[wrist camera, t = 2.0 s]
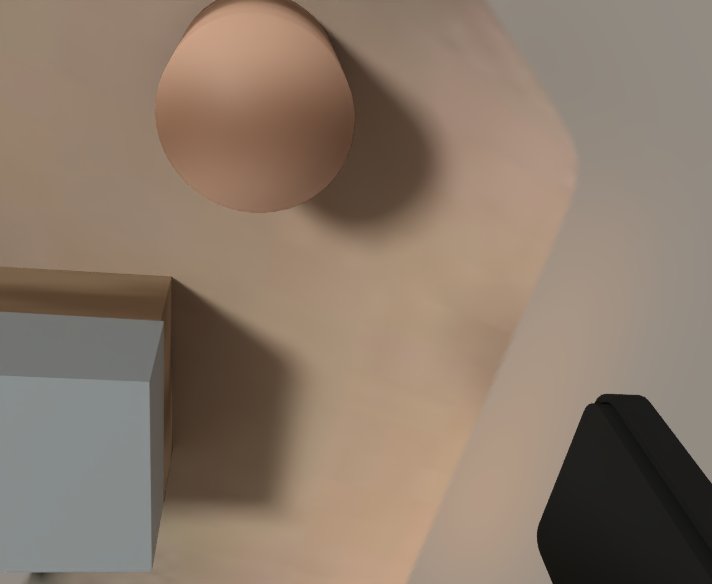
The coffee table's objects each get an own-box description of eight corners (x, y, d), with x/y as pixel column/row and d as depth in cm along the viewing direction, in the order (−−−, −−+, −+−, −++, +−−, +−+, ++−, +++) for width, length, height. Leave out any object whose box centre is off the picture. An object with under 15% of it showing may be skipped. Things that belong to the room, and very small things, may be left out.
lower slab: (-84, 257, 29) (-130, 306, 26) (172, 272, 31) (160, 320, 27) (-42, 440, 35) (-75, 500, 31) (173, 444, 36) (164, 500, 33)
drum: (176, -21, 24) (153, 4, 19) (347, 2, 25) (367, 30, 20) (177, 146, 27) (157, 205, 22) (328, 160, 28) (342, 219, 23)
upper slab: (-128, 304, 26) (-188, 367, 22) (163, 321, 27) (149, 382, 24) (-76, 498, 31) (-118, 573, 28) (163, 501, 33) (151, 571, 30)
